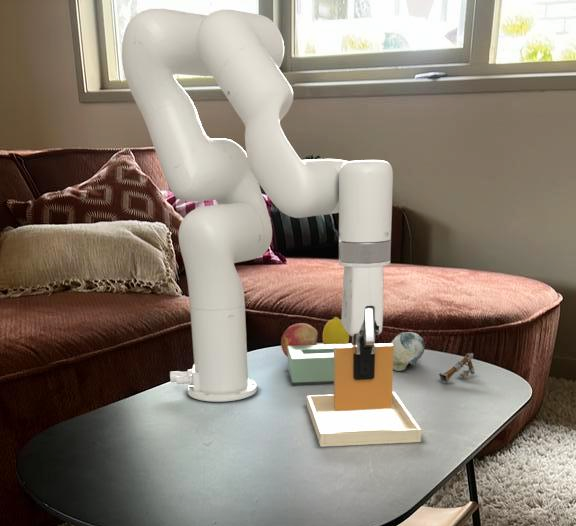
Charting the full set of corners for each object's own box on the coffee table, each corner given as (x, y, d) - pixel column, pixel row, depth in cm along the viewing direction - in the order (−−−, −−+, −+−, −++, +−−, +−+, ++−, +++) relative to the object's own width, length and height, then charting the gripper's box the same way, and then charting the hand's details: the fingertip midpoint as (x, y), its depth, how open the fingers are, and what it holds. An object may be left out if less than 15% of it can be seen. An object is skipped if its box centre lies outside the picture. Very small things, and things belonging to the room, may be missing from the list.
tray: (320, 446, 113) (320, 434, 112) (306, 406, 130) (306, 395, 130) (421, 442, 114) (421, 429, 113) (394, 402, 131) (394, 391, 131)
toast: (335, 411, 120) (335, 348, 116) (333, 408, 122) (333, 345, 117) (391, 408, 121) (393, 345, 116) (389, 405, 122) (391, 343, 118)
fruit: (305, 370, 151) (305, 329, 148) (273, 364, 155) (272, 325, 152) (326, 361, 157) (326, 322, 153) (295, 356, 161) (295, 318, 157)
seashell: (382, 377, 151) (405, 362, 160) (415, 366, 146) (437, 351, 156) (371, 347, 150) (395, 333, 159) (404, 334, 145) (426, 321, 154)
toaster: (292, 385, 142) (291, 358, 140) (287, 370, 151) (287, 345, 149) (382, 381, 143) (383, 355, 141) (372, 367, 152) (373, 342, 150)
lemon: (336, 350, 165) (336, 313, 161) (354, 355, 161) (354, 317, 157) (317, 355, 161) (317, 317, 158) (334, 360, 158) (335, 321, 154)
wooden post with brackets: (480, 371, 145) (475, 351, 142) (450, 394, 143) (445, 374, 140) (473, 369, 146) (468, 349, 143) (444, 392, 144) (438, 372, 141)
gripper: (331, 248, 118) (331, 365, 126) (347, 261, 104) (346, 392, 112) (379, 246, 118) (376, 363, 126) (401, 259, 104) (396, 390, 112)
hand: (362, 376), depth 119 cm, fingers closed on toast, 1 cm apart
